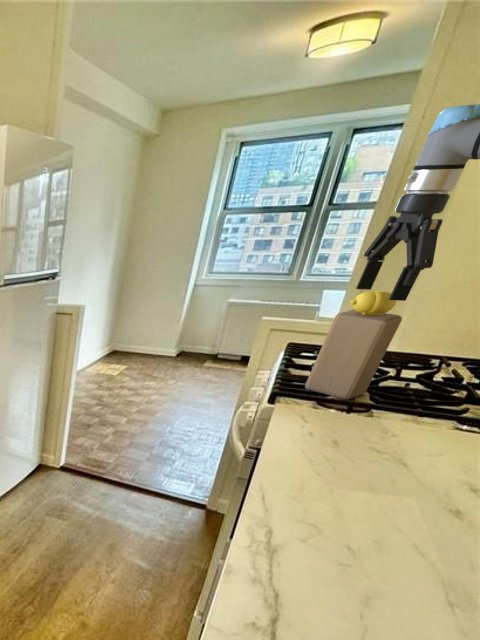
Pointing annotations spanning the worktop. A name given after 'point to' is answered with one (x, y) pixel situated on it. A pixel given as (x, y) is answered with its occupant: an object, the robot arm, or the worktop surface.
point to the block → (352, 353)
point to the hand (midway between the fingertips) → (379, 294)
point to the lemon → (373, 303)
